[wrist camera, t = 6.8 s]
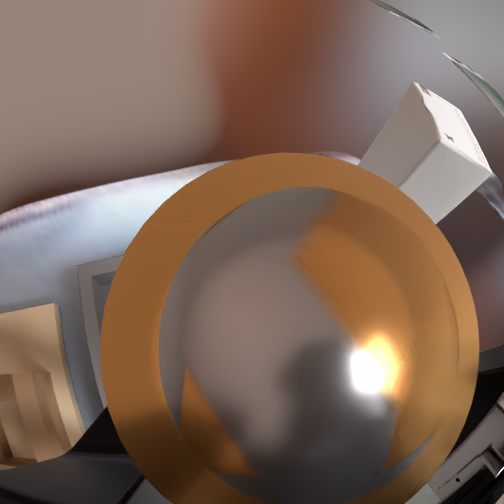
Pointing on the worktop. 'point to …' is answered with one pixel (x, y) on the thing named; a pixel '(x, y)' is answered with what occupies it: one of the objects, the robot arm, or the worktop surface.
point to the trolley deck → (33, 356)
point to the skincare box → (428, 153)
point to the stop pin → (289, 338)
